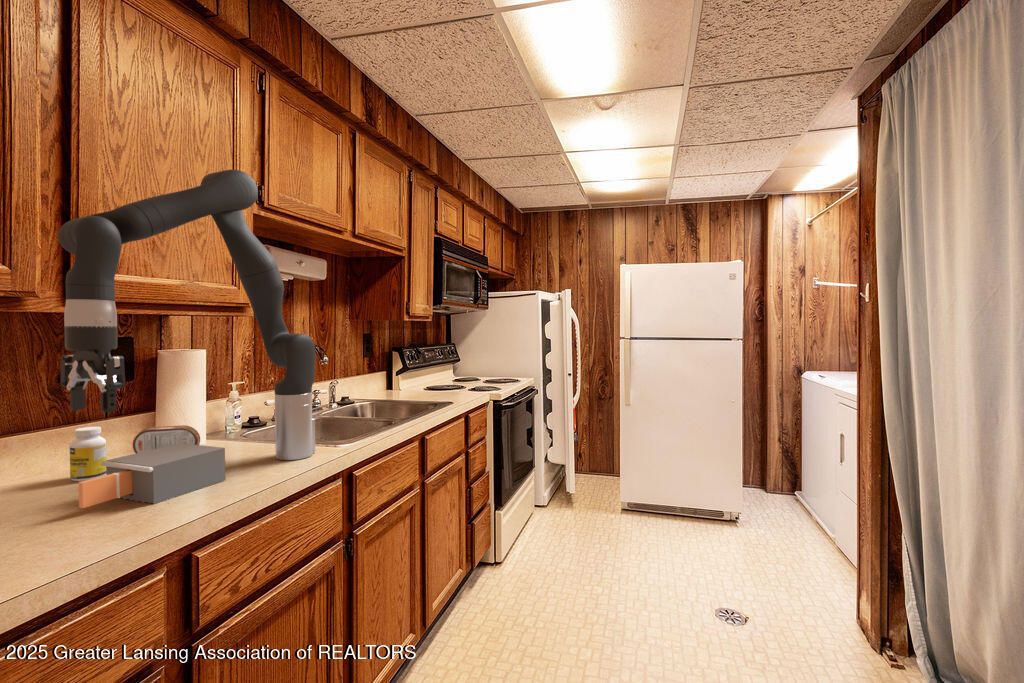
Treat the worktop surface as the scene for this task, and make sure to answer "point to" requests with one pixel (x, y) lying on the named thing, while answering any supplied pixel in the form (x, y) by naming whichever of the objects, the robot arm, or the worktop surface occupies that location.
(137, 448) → the tin
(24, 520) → the worktop surface
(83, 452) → the pill bottle
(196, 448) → the dispenser
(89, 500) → the ticket
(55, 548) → the worktop surface
